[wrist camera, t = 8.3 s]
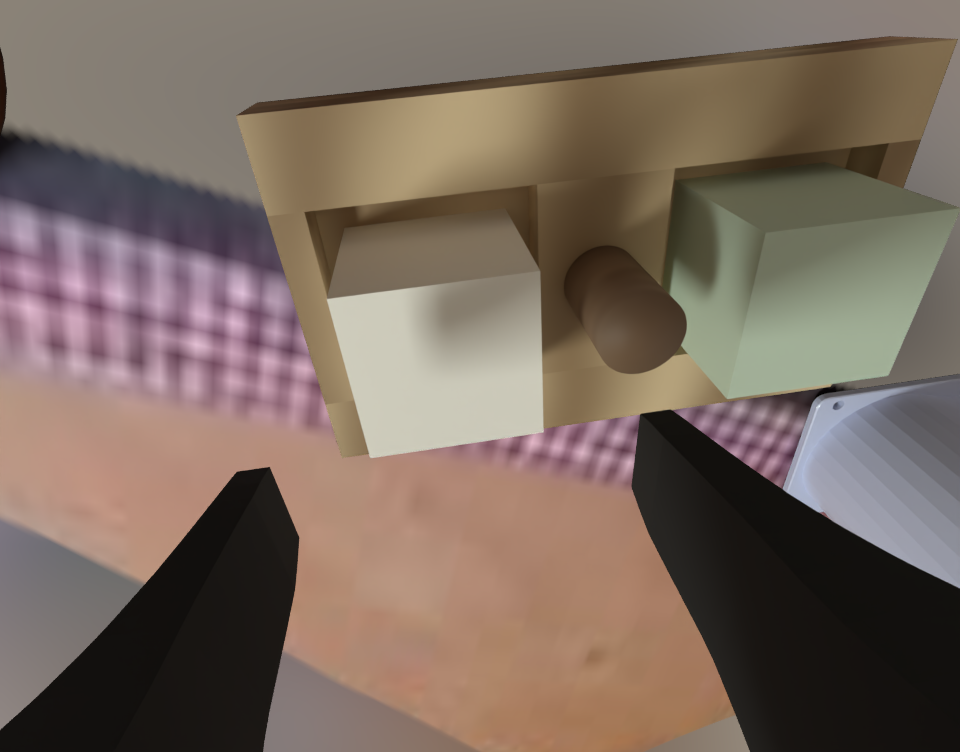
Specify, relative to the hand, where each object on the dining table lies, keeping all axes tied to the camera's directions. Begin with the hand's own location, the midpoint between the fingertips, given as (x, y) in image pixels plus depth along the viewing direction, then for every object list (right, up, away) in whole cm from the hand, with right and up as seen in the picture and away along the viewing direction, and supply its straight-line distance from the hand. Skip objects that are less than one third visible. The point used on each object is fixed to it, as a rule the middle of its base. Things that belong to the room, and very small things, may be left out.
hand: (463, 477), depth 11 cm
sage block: (+9, +7, +9) cm, 14 cm away
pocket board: (+4, +6, +8) cm, 11 cm away
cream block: (-1, +5, +7) cm, 9 cm away
